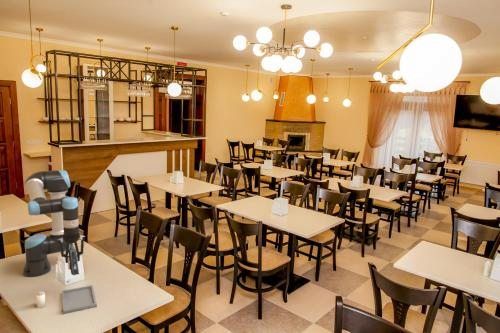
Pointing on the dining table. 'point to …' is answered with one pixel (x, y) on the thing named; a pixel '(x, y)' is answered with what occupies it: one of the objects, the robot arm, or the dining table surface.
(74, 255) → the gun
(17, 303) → the dining table surface
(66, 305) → the tray
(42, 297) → the shaker
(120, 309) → the dining table surface
